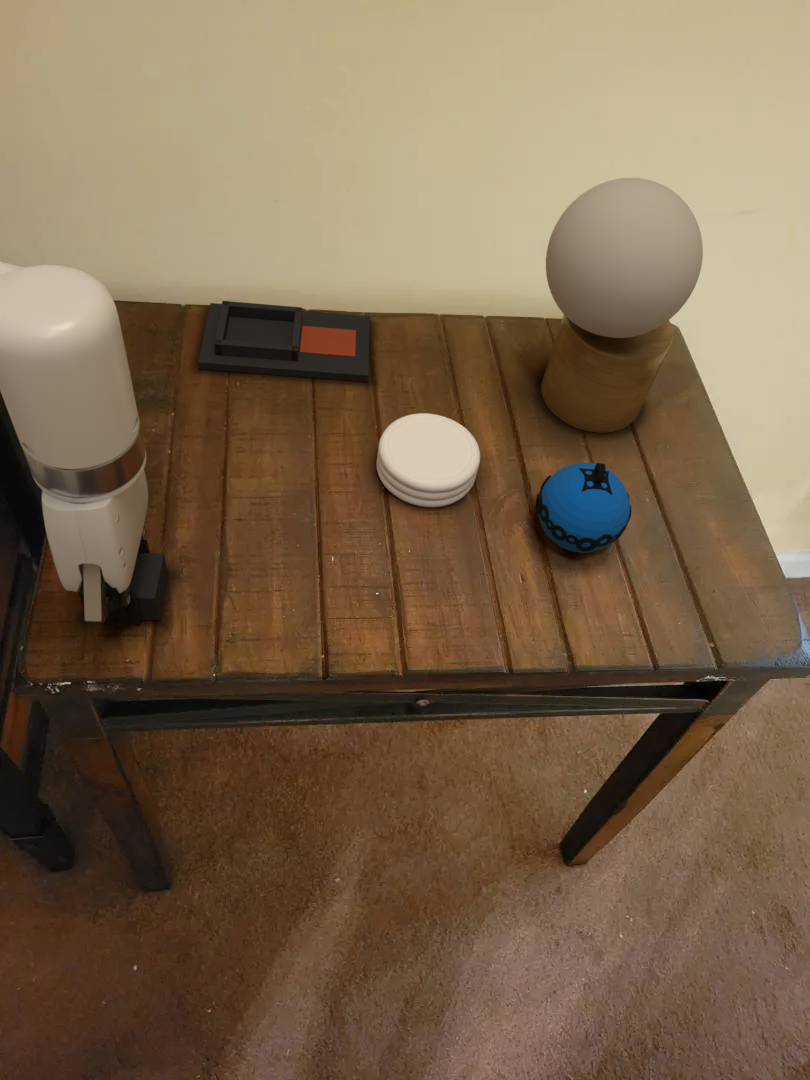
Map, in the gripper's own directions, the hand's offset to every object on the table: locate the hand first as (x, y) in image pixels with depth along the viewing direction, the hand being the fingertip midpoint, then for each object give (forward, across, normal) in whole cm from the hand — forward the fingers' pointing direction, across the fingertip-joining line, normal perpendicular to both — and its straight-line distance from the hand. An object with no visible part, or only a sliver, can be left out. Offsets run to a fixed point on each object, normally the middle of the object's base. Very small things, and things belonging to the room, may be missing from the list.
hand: (127, 592), depth 69 cm
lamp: (+1, -28, +43) cm, 52 cm away
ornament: (+1, -10, +40) cm, 41 cm away
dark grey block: (+1, 0, 0) cm, 1 cm away
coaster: (+1, -16, +26) cm, 31 cm away
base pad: (+1, -34, +11) cm, 36 cm away
